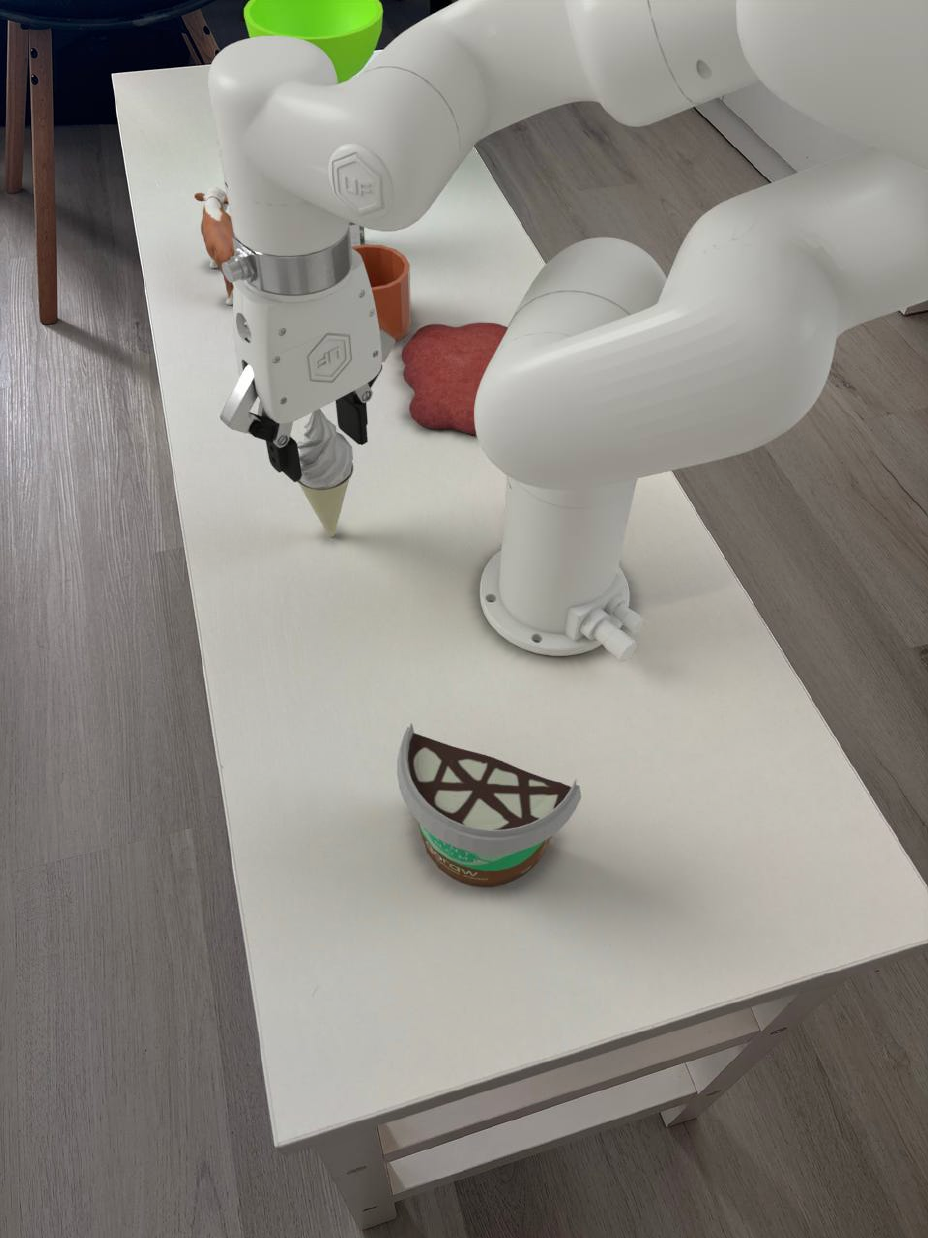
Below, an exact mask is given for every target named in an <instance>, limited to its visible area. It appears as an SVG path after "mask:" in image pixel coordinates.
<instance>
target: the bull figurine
mask: <svg viewBox="0 0 928 1238" xmlns="http://www.w3.org/2000/svg"><path fill="white" fill-rule="evenodd" d="M194 199H195V200H196V201H198V202H204V205H203V208H202V219H201V224H200V230H201V231H200V232H201V235H202V239H203V242H204V246H205V251H206V253H207V255H208V256H209V259H210V263H209V268H210V269H219V271H220V272H221V274H222V277H223V281H224V284H225V289H226V292H227V299H226V301H225V304H226V305H227V306H233V291H234V282H233V283H231V282H229V281H228V280H227V278H226V277H225V275H224V273H223V270H222V263H223V262H226V261H228V260H230V259H231V257H232V256H234V254H235V251H234V245H233V240H232V238H234V232H233V226H232V220H231V215H230V213H228V212H227V210H228V208H229V204H228V198H227V193H226V191H225V190H223V189H222V188H219V187H216V186H215V187H214V186H212V187H210V188H209V189H207V193H204V192H196V193H195V194H194Z"/></svg>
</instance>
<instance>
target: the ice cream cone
mask: <svg viewBox="0 0 928 1238" xmlns="http://www.w3.org/2000/svg"><path fill="white" fill-rule="evenodd" d="M321 409H322V408H320V409H318V410H316V411H314V412H312V413H311V415H310V417H309V420H308V421H307V423H306V424H305V425H304V429H305V430H306V431H305V432H304V433H303V434H302V435H303V436H304V440H303V441H296V443H297V446H298V450H299V451H298V452H299V459H300V465H301V472H302V477H301V479H300V480H298V481H297V482H296V483H297V484H298V485H299V486H300V488H301V490H302V492H303V494H304V495H305V497H306V499H307V501H308V502H309V504H310V506H311V508H312V510H313V511H314V513H315V514H316V517H317V518H318V520H319V521H320V523H321V525H322V527H323V529H324V530H325V532H326V534H327V535H328V537H329V538H334V537H335V533H336V530H337V526H338V523H339V519H340V516H341V513H342V508H343V504H344V501H345V497H346V493H347V489H348V486H349V482H350V479H351V477H352V476H353V473H354V463H353V461H354V453H353V452H354V451H353V446H352V445H351V444H350V442H349V441H348V439H347V438H346V437H345V436H344V434H342V433H341V432H338V431H337V425H335V424H334V423H332V422H331V421H330V420H329V419H328V418H327V416H326V415H325V414H324V412H323V411H322V410H321Z"/></svg>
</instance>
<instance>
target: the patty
mask: <svg viewBox="0 0 928 1238" xmlns="http://www.w3.org/2000/svg"><path fill="white" fill-rule="evenodd" d="M507 329H508V326H505V325H503V324H500V323H495V322H473V323H468V324H464V325H461V326H451V325H446V324H440V323H431V324H427V325H426V324H425V325H424V326H422V327H420V328H418V330H416V331H415V333H414V334H413V336H412V338H411V340H409V341H408V342H407V343H406V344H405V346H404V347H403V348H402V350H401V359H402V362H403V363H404V368H403V378H404V381H405V382H406V384H407V385H408V386H409V387H410V388H411V389H412V390H413V392H414V396H413V397H412V399H411V400H410V403H409V406H408V411H409V415H410V417H411V419H412V420H413V421H414V422H415V423H416V424H418V425H420V426H422V427H424V428H427V429H430V430H431V429H433V430H443V429H445V430H446V429H452V430H455V431H458V432H461V433H464V434H469V435H477V434H476V430H475V422H474V407H475V400H476V395H477V391H478V388H479V385H480V382H481V380H482V378H483V375H484V373H485V371H486V369H487V367H488V365H489V363H490V361H491V359H492V357H493V356H494V354H495V352H496V350H497V348H498V346H499V344H500V343H501V341H502V339H503V337H504V335H505V333H506V331H507Z"/></svg>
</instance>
